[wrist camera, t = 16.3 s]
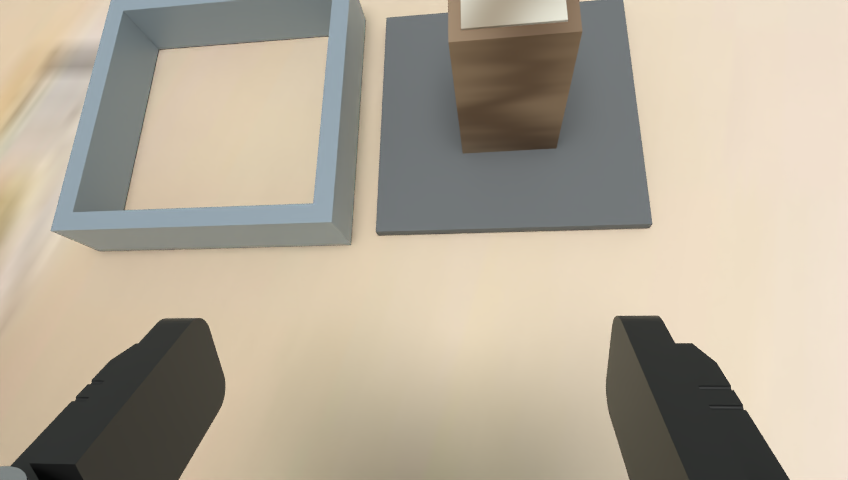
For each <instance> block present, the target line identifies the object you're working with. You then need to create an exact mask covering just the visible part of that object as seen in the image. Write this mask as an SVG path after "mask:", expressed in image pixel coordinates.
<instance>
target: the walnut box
mask: <svg viewBox="0 0 848 480" xmlns="http://www.w3.org/2000/svg"><path fill="white" fill-rule="evenodd" d="M581 36H582V22H581V13H580V4H579V0H448V43H449V51H450V59H451V66H452V74H453V82H454V90H455V97H456V105H457V113H458V121H459V128H460V136H461V144H462V151H463V154H464V153H482V152H501V151H519V150H538V149H556V148H557V144H558V139H559V135H560V130H561V126H562V121H563V117H564V112H565V108H566V103H567V99H568V94H569V90H570V85H571V81H572V76H573V72H574V67H575V63H576V58H577V54H578V49H579V45H580V40H581Z"/></svg>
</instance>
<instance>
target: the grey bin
mask: <svg viewBox="0 0 848 480" xmlns="http://www.w3.org/2000/svg"><path fill="white" fill-rule="evenodd" d="M365 22H366V20H365V17H364V14H363V11H362V8H361V5H360V2H359V0H111V2H110V6H109V10H108V14H107V18H106V21H105V25H104V29H103V33H102V37H101V41H100V44H99V48H98V52H97V56H96V60H95V63H94V67H93V71H92V75H91V79H90V83H89V86H88V90H87V94H86V98H85V102H84V106H83V109H82V113H81V117H80V121H79V125H78V128H77V132H76V136H75V140H74V144H73V148H72V151H71V155H70V159H69V163H68V167H67V170H66V174H65V178H64V182H63V186H62V190H61V193H60V197H59V201H58V205H57V209H56V212H55V216H54V220H53V224H52V228H51V231H52V232H55V233H57V234H59V235H62V236H64V237H67V238H69V239H71V240H74V241H76V242H79V243H81V244H83V245H86V246H88V247H91V248H93V249H95V250H98V251H122V250H162V249H202V248H242V247H282V246H322V245H351V235H352V220H353V205H354V189H355V174H356V159H357V144H358V128H359V113H360V98H361V83H362V67H363V52H364V37H365ZM321 36H329V39H328V50H327V61H326V72H325V83H324V93H323V104H322V115H321V126H320V137H319V147H318V158H317V169H316V180H315V191H314V202H313V204H287V205H259V206H232V207H204V208H176V209H148V210H124V207H125V202H126V198H127V193H128V188H129V184H130V179H131V175H132V170H133V165H134V161H135V156H136V152H137V147H138V142H139V138H140V133H141V129H142V124H143V119H144V115H145V110H146V106H147V101H148V96H149V92H150V87H151V83H152V78H153V73H154V69H155V64H156V60H157V55H158V50H159V49H170V48H182V47H195V46H207V45H220V44H233V43H245V42H258V41H271V40H283V39H296V38H309V37H321Z"/></svg>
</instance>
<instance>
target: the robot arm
mask: <svg viewBox="0 0 848 480" xmlns="http://www.w3.org/2000/svg"><path fill="white" fill-rule="evenodd" d="M224 395H225V378H224V374H223V371H222V367H221V364H220V361H219V358H218V355H217V351H216V348H215V345H214V342H213V339H212V335H211V332H210V329H209V326H208V324H207V323H206V321H205V320H203V319H201V318H169V319H162V320H160V321H159V322H158V323H157V324H156V325H155V326H154V327H153V328H152V329H151V330H150V331H149V333H148V334H147V335H146V336H145V337H144V338H143V339H142V340H141V341H140V342H139V344H135V345H133V346H132V347H130V348H129V349H127V350H126V351H124V352H123V353H121V354H120V355H118V356H116V357H115V358H113V359H112V360H110V361H109V362H108V364H107V365H106V366H105V367H104V368H103V369H102V370H101V371H100V372H99V373H98V374H97V375H96V376H95V377H94V378H93V379H92V383H91V384H88V385H87V386H86V387H85V388H84V389H83V390H82V391H81V392H80V393H79V394H78V395H77V396H76V400H75V401H72V402H71V403H70V404H69V405H68V406H67V407H66V408H65V409H64V410H63V411H62V412H61V413H60V414H59V415H58V416H57V417H56V418H55V420H54V421H53V422H52V423H51V424H50V425H49V426H48V427H47V428H46V429H45V430H44V431H43V432H42V433H41V434H40V435H39V436H38V437H37V439H36V440H35V441H34V442H33V443H32V444H31V445H30V446H29V447H28V448H27V449H26V450H25V451H24V452H23V453H22V454H21V455H20V456H19V458H18V459H17V460H16V461H15V462H14V463H13V464H12V465H11V466H2V467H0V480H179V478H180V476H181V475H182V473H183V471H184V469H185V468H186V466H187V464H188V463H189V461H190V459H191V457H192V456H193V454H194V452H195V451H196V449H197V447H198V446H199V444H200V442H201V440H202V439H203V437H204V435H205V434H206V432H207V430H208V429H209V427H210V425H211V423H212V422H213V420H214V418H215V417H216V415H217V413H218V412H219V410H220V408H221V406H222V403H223V400H224ZM606 396H607V404H608V410H609V414H610V418H611V421H612V424H613V427H614V430H615V434H616V437H617V440H618V443H619V447H620V450H621V453H622V456H623V460H624V463H625V466H626V469H627V473H628V476H629V479H630V480H790V479H789V478H788V476H787V475H786V473H785V471H784V470H783V468H782V467H781V465H780V463H779V462H778V460H777V459H776V457H775V455H774V454H773V452H772V451H771V449H770V448H769V446H768V444H767V443H766V441H765V440H764V438H763V436H762V435H761V433H760V432H759V430H758V428H757V427H756V425H755V424H754V422H753V420H752V419H751V417H750V416H749V414H748V412H747V411H746V410H743V404H742V403H741V401H740V400H739V398H738V396H737V395H736V393H735V392H734V390H731V385H730V384H729V382H728V380H727V379H726V377H725V376H724V374H723V372H722V371H721V369H720V368H719V366H718V364H717V363H716V362H715V361H714V360H712V359H711V358H710V357H709V356H707V355H706V354H705V353H703V352H702V351H701V350H700V349H698V348H697V347H696V346H695V345H693V344H692V343H675V342H674V341H673V339H672V337H671V335H670V333H669V331H668V330H667V328H666V326H665V324H664V322H663V320H662V319H661V318H660V317H659V316H616V317H615V318H614V320H613V324H612V332H611V341H610V350H609V359H608V368H607V377H606Z"/></svg>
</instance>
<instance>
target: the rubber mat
mask: <svg viewBox="0 0 848 480" xmlns="http://www.w3.org/2000/svg"><path fill="white" fill-rule="evenodd" d="M579 4H580V13H581V22H582V36H581V40H580V45H579V49H578V54H577V58H576V63H575V67H574V72H573V76H572V81H571V85H570V90H569V94H568V99H567V103H566V108H565V112H564V117H563V121H562V126H561V130H560V135H559V139H558V144H557V148H556V149H538V150H519V151H501V152H482V153H464V154H463V151H462V144H461V136H460V128H459V121H458V113H457V105H456V97H455V90H454V82H453V74H452V66H451V59H450V51H449V43H448V13H439V14H427V15H414V16H402V17H390V18H387V20H386V40H385V60H384V80H383V100H382V120H381V141H380V161H379V181H378V201H377V221H376V232H377V234H378V235H409V234H446V233H483V232H520V231H556V230H593V229H630V228H649V227H650V226H651V225H652V218H651V210H650V202H649V195H648V187H647V179H646V172H645V164H644V156H643V149H642V141H641V133H640V126H639V118H638V110H637V103H636V95H635V88H634V80H633V72H632V65H631V57H630V49H629V42H628V34H627V26H626V19H625V11H624V3H623V0H596V1H584V2H579Z"/></svg>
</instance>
